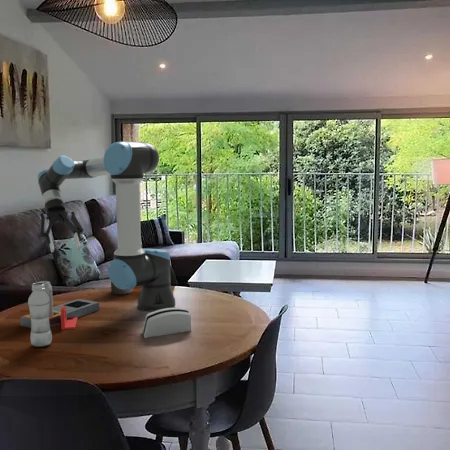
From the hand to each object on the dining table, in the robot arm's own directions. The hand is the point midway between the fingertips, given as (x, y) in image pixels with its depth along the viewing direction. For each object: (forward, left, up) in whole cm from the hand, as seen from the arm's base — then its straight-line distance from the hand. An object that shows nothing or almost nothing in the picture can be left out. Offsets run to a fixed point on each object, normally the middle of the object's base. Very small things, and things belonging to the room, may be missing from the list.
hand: (66, 249), depth 204 cm
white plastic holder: (-53, +6, -24) cm, 58 cm away
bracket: (-16, +15, -24) cm, 32 cm away
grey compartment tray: (-7, +10, -24) cm, 27 cm away
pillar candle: (-2, -29, -24) cm, 38 cm away
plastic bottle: (-24, +34, -24) cm, 48 cm away
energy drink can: (-7, +18, -24) cm, 31 cm away
